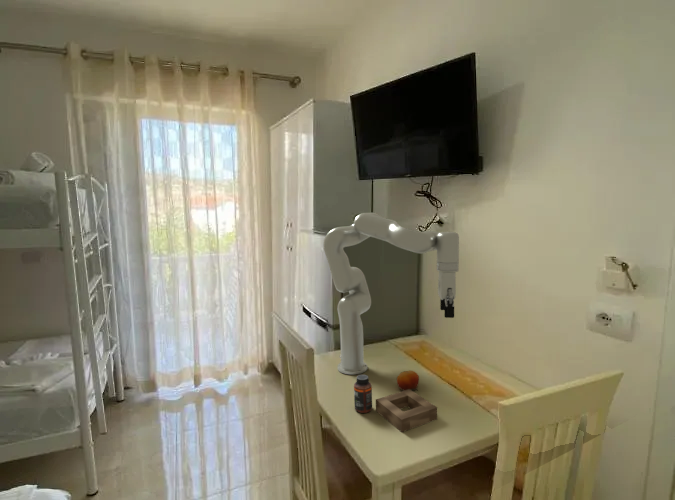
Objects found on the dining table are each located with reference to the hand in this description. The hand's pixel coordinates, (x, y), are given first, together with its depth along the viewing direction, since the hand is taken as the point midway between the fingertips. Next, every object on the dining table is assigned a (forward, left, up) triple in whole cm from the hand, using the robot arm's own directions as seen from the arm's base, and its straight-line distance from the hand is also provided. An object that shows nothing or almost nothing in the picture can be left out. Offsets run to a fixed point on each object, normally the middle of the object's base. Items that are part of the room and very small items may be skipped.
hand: (447, 313), depth 136 cm
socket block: (+6, -24, -29) cm, 38 cm away
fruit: (-8, -12, -29) cm, 32 cm away
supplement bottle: (-4, -34, -29) cm, 45 cm away
